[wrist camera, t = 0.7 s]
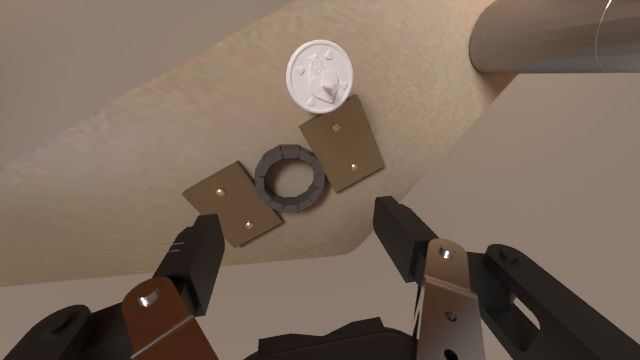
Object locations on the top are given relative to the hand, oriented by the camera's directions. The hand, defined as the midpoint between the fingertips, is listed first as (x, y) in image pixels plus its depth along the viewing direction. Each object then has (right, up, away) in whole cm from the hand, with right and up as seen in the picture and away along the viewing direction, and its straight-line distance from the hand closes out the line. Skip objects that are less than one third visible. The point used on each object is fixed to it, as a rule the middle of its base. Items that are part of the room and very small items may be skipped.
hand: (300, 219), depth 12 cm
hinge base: (-4, +3, +23) cm, 24 cm away
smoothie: (-1, +16, +18) cm, 24 cm away
